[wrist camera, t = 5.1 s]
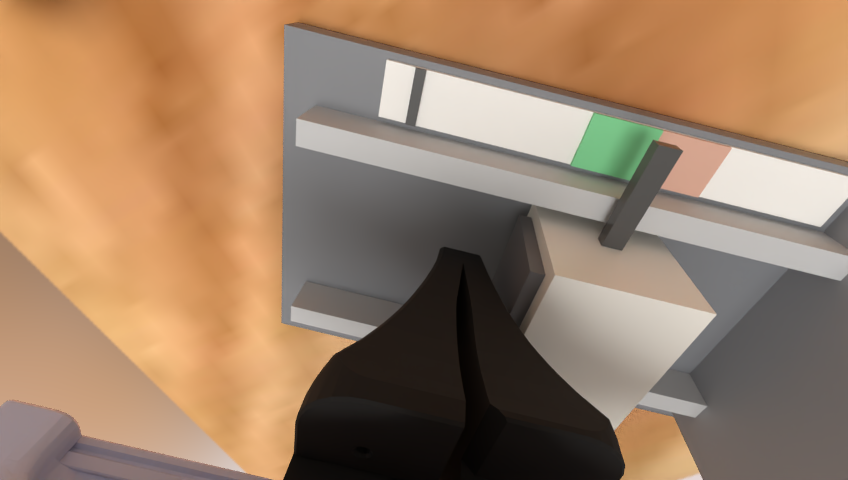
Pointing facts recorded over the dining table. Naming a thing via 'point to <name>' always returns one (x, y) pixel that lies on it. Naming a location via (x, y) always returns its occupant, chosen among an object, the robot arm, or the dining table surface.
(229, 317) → the dining table surface
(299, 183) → the gauge rail
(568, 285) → the slider
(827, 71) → the dining table surface
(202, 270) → the dining table surface
